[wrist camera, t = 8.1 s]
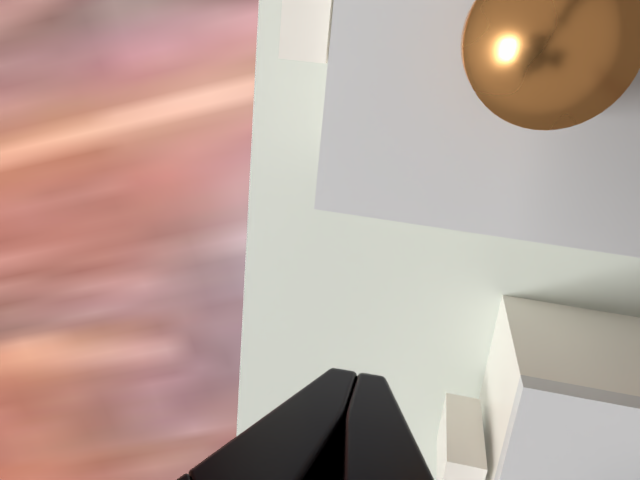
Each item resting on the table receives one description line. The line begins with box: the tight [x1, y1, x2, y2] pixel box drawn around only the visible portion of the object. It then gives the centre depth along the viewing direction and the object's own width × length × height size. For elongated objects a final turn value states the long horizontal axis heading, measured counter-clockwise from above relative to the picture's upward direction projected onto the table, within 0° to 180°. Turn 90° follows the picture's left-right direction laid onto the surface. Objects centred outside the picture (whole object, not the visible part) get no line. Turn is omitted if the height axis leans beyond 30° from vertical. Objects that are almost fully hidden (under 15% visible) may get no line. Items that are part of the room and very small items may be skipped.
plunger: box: [461, 0, 640, 130], centre depth 14 cm, size 7×7×7 cm
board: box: [236, 0, 640, 480], centre depth 20 cm, size 22×27×1 cm
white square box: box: [278, 0, 640, 258], centre depth 15 cm, size 10×9×6 cm
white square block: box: [436, 295, 640, 480], centre depth 19 cm, size 10×9×6 cm
